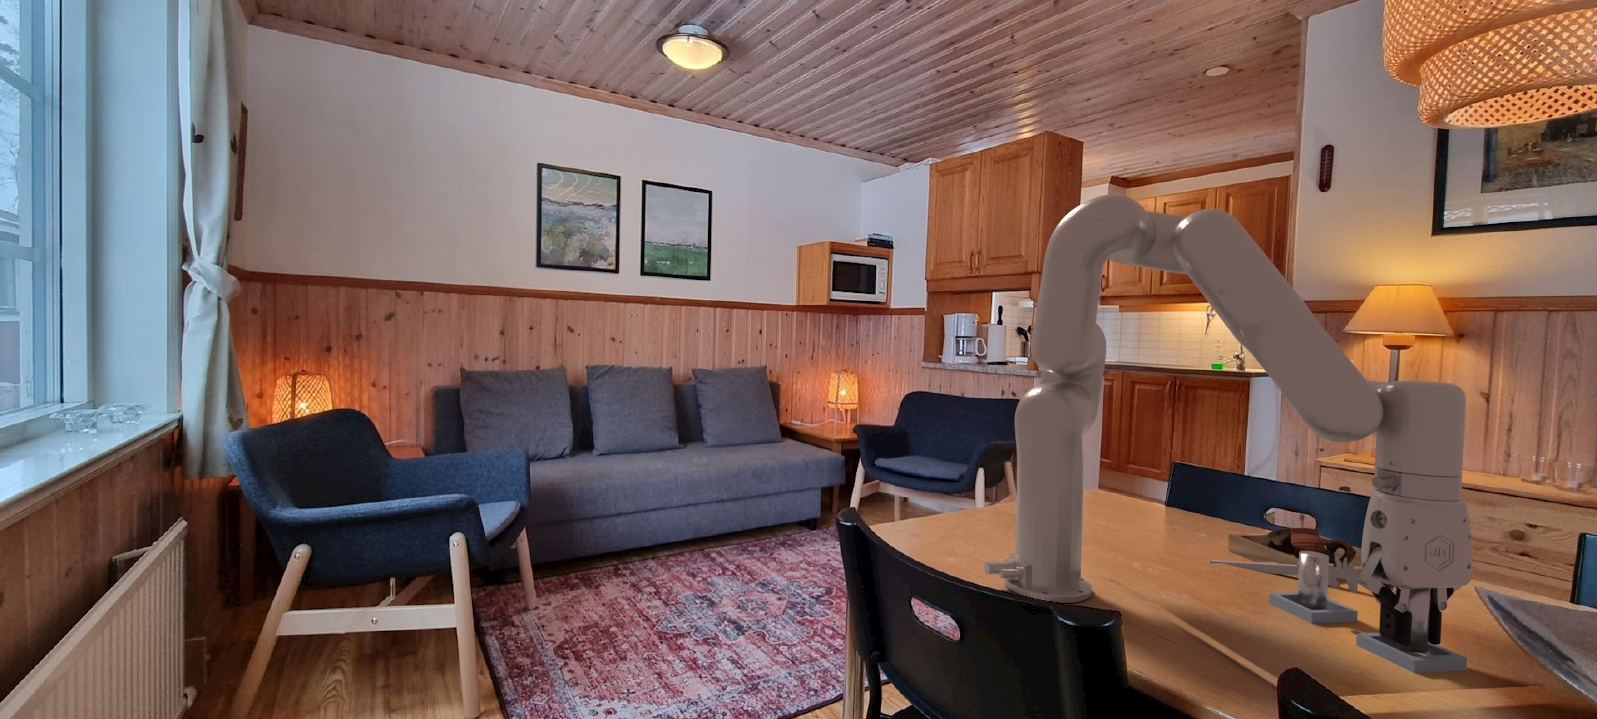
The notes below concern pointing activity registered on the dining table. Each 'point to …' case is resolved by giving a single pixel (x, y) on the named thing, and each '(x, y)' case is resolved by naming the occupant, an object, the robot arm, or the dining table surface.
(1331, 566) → the caliper
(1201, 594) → the dining table surface
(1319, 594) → the seated pin
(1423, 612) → the steel pin
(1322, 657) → the dining table surface
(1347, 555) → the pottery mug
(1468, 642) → the dining table surface
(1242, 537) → the brown elongated piece
